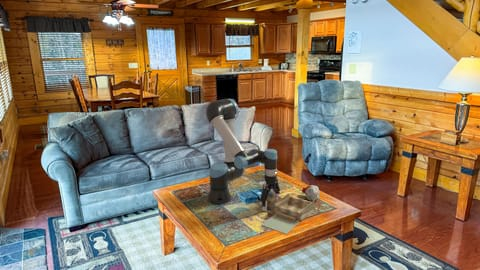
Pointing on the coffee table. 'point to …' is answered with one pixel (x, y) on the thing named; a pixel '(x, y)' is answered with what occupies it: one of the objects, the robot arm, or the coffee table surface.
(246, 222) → the coffee table surface
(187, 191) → the coffee table surface
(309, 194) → the candle
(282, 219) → the lid
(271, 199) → the walnut block
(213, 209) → the coffee table surface
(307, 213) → the box
